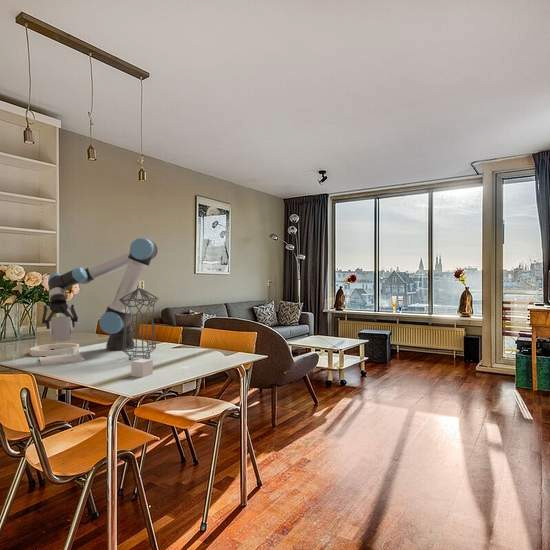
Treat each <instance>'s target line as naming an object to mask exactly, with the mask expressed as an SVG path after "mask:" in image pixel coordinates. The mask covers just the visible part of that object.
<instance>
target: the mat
mask: <svg viewBox="0 0 550 550" xmlns="http://www.w3.org/2000/svg"><path fill="white" fill-rule="evenodd" d="M38 360H40V361H39V363H40V365H41V366H49V365H50V364H52V365H59V364H60V363H61V364H68V363H69V362H70V363H76V362H77V361H79V362H84V361H85V358H84V357H83V356H82V355H81V354H80V353H79V352H76V353H72V354H66V355H56V356H46V357H38ZM77 363H78V362H77ZM50 366H51V365H50Z"/></svg>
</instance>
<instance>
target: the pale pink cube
mask: <svg viewBox="0 0 550 550" xmlns="http://www.w3.org/2000/svg"><path fill="white" fill-rule="evenodd" d="M153 362H154V361H153V359H149V358H148V359H147V358H146V359H145V358H144V359H143V358H139V360H130V370H131V371H130V372H131V374H130V376H131V377H139V378H145V377H148V376H150V375H151V376H152V375H153V374H154V372H153V368H154V367H153V365H154V364H153Z"/></svg>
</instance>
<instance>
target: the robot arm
mask: <svg viewBox="0 0 550 550" xmlns="http://www.w3.org/2000/svg"><path fill="white" fill-rule="evenodd" d="M157 255H158V246H157V244H156V243H155V242H154V241H153V240H150V239H149V238H145V237H138V238H136V239H134V240H133V241H132V243H130V245H129V251H126V252H123V253H121V254H119V255H116V256H114V257H111V258H109V259H106V260H104V261H101V262H99V263H97V264H94V265H92V266H90V267H89V266H88V267H86V268H83V267H82V266H79V267H77V268H73V269H72V270H69V271H67V272H65V273H63V274H61V273H52V274H50V275H49V276H48V279H47V286H48V295H49V306H47V305H43V313H42V318H41V324H42V325H44V324H45V326H46V329H47V330H48V331H49V336H51V335H52V327H51V318H53V317H54V316H55V314H63V315H64V317H71V335H72V334H73V333H74V328H75V327H76V326H75V325H76V324H75V323H77V322H78V320H79V317H78V314H77V313H76V309H75V305H74V304H71V305H69V304H67V303H68V301H67V295H66V289H68V288H70V287H72V286H75V285H80V284H81V285H87V284H90V283H91V282H93V281H94V280H97V279H100V278H102V277H104V276H106V275H109V274H111V273H114V272H117V271H120V270H122V269H124V268H126V269H125V271H124V273H123V277H122V279H121V281H120V282H119V283H120V284H119V285H118V289H117V291H116V293H115V296H114V297H113V300H112V303H110V304H108V305H107V307H106V309H105V312H104V313H103V314H102V315H101V317H100V318H99V323H98V324H99V328H100V329H101V331H103V332H104V333H106V334H109V336H108V339H107V342H106V346H105V350H107V351H122V348H123V336H124V323H125V305H124V304H125V303H128V302H129V301H124V302H125V303H124V304H123V303H122V302H120V301H119V299H121V298H122V297H124V296H126V295H128V294H129V293H131V292H133V291H135V290H136V289H138V285H139V283H140V280H141V278H142V275H143V273H144V270H145V268H147V267H149V266H150V264H151V261H152V260H153V259H155V258H156V256H157ZM130 295H131V294H130ZM130 295H128V296H127V297H125V298H124V300H126V299H127V298H128V297H129V296H130ZM129 298H130V297H129ZM129 298H128V299H129ZM131 298H132V297H131ZM128 299H127V300H128ZM131 302H132V301H130V304H129V305H131ZM128 308H129V307H128V306H126V312H127V310H128ZM68 309H69V311H70V312H71V313H70V312H69V311H68ZM130 309H131V308H130ZM130 309H129V310H128V312H127V314H126V315H129V314H132V312H131V311H132V310H131V311H130ZM49 310H51V312H50V313H49V315H48V317H47V313H48V311H49ZM131 332H132V316H127V322H126V349H127V348H130V347H131ZM133 338H134V337H132V347H136V345H135V341H134V339H133ZM130 349H131V348H130ZM130 349H129V350H130ZM124 350H125V337H124ZM131 350H132V349H131Z"/></svg>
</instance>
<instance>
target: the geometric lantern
mask: <svg viewBox="0 0 550 550" xmlns="http://www.w3.org/2000/svg"><path fill="white" fill-rule="evenodd" d="M130 294H131V295H130ZM138 294H140V297H141V298H138ZM128 295H130V296H129V297H130V298H129V297H128V298H129V299H128V298H127V299H128V300H127V299H126V300H124V298H125V297H127V296H128ZM128 295H126V296H124V297H122V298H121V299H119V301H120V302H122V303H123V304H124V303H125V302H124V301H129V302H128V303H125V304H124V305H125V323H124V336H123V348H122V350H121V351H122V352H123V353H125V354H126V355H127V356H128V360H129V361H135V360H139V359H140V358H139V357H142V359H149V358H151V353H153V351H155V350H156V348H157V347H156V346H157V345H156V343H157V342H156V333H155V331H156V330H155V323H154V322H155V321H154V313H155V304H156V303H157V301H158V300H159V299H160V298H159V297H157V296H155V295H153V294H152V293H150V292H148V291H146V290H145V289H143V288H140V287H137V288H136V290H135V291H133V292H131V293H129V294H128ZM131 297H132V298H131ZM130 301H131V302H134V305H131V302H130ZM145 302H148V303H147V304H145ZM136 303H138V304H136ZM129 304H130V305H129ZM139 305H141V306H140V307H138V306H139ZM126 306H128V310H129V309H130V311H131V314H129V315H126V314H127V312H128V310H127V312H126ZM143 306H146V307H147V309H146V312H145V313H144V314H143V313H142V312H141V309H142V307H143ZM135 307H136V309H137V312H136V313H133V311H132V310H131V308H135ZM151 307H152V312H151V310H150V308H151ZM148 311H149V314H147V312H148ZM127 316H131V347H130V348H131V350H130V348H127V349H126V322H127ZM149 316H151V345H152V346H151V345H150V346H149V336H148V335H149V334H148V319H147V318H148V317H149ZM134 317H135V347H132V338H133V331H134ZM138 317H141V344H142V345H141V346H138V343H137V342H138V341H137V339H138ZM144 317H145V330H146V331H145V332H146V333H145V334H146V346H144V320H143V319H144ZM124 337H125V350H124ZM137 348H138V349H140V348H141V350H137ZM144 348H146V350H144ZM149 348H150V349H149ZM134 349H135V350H134ZM129 352H130V353H129ZM138 354H139V355H138ZM134 357H138V358H139V359H132V358H134Z"/></svg>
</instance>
